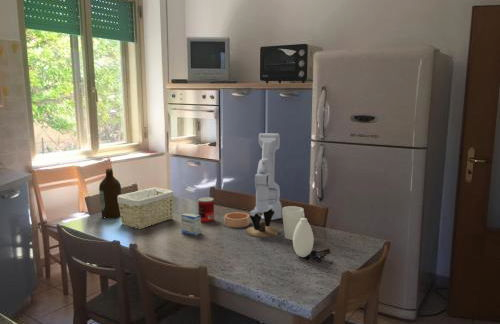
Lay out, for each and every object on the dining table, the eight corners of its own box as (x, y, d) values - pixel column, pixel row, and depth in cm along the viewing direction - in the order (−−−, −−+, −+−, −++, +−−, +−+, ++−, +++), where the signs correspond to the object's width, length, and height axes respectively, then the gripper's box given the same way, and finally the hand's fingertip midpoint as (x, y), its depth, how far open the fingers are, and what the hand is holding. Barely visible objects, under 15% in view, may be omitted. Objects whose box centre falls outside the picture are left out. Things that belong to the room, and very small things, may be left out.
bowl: (239, 218, 216) (239, 211, 215) (254, 224, 206) (254, 216, 206) (220, 222, 209) (220, 215, 208) (234, 229, 199) (234, 220, 199)
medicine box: (181, 233, 193) (180, 214, 192) (187, 230, 197) (186, 212, 196) (195, 235, 190) (195, 217, 188) (201, 233, 193) (200, 214, 192)
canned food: (215, 218, 217) (215, 197, 215) (212, 222, 209) (212, 201, 207) (200, 217, 217) (200, 196, 216) (197, 222, 210) (196, 200, 208)
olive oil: (119, 212, 226) (117, 166, 222) (124, 217, 217) (121, 169, 213) (99, 215, 221) (96, 168, 217) (102, 220, 212) (99, 171, 208)
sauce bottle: (299, 251, 171) (300, 208, 168) (316, 255, 166) (317, 211, 163) (288, 256, 165) (289, 212, 162) (306, 261, 160) (307, 216, 157)
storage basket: (138, 231, 196) (137, 200, 194) (116, 224, 206) (115, 195, 203) (176, 219, 215) (175, 190, 213) (154, 213, 225) (153, 186, 222)
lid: (264, 225, 206) (264, 215, 205) (284, 233, 194) (285, 223, 193) (239, 231, 197) (239, 221, 196) (259, 240, 185) (259, 229, 184)
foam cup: (301, 241, 182) (302, 212, 180) (280, 240, 184) (280, 211, 182) (303, 234, 192) (304, 206, 190) (283, 233, 193) (283, 205, 191)
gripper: (265, 194, 201) (265, 222, 203) (245, 200, 190) (245, 229, 192) (277, 197, 196) (276, 225, 198) (257, 203, 185) (256, 233, 188)
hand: (262, 227), depth 195 cm, fingers open, 7 cm apart
